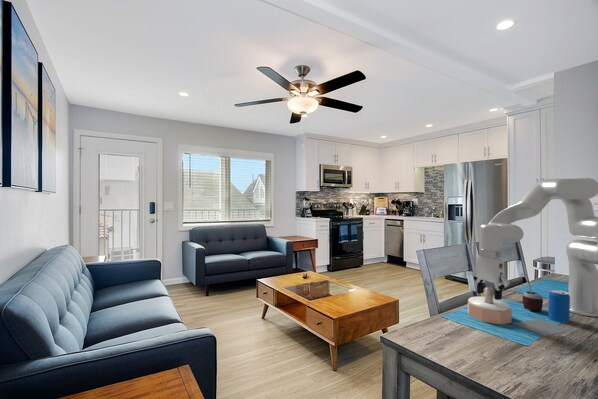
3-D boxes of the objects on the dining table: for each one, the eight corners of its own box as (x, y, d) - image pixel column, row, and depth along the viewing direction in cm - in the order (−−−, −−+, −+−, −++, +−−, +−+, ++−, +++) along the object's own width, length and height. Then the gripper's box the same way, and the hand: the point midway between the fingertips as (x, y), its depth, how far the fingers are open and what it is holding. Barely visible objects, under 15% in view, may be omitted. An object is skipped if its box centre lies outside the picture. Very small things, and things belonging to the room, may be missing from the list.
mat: (538, 319, 122) (538, 318, 122) (570, 331, 112) (570, 329, 112) (513, 324, 117) (513, 323, 117) (544, 337, 107) (544, 336, 107)
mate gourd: (540, 315, 126) (541, 280, 126) (518, 310, 132) (518, 276, 132) (544, 311, 131) (545, 277, 131) (522, 306, 137) (523, 273, 137)
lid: (485, 296, 133) (485, 281, 133) (518, 308, 120) (518, 291, 120) (461, 300, 128) (461, 284, 128) (492, 313, 115) (493, 295, 115)
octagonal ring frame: (484, 308, 134) (485, 296, 134) (518, 322, 120) (519, 308, 120) (460, 312, 129) (460, 300, 129) (492, 327, 115) (492, 313, 115)
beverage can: (573, 325, 117) (574, 295, 117) (554, 323, 119) (555, 293, 118) (562, 318, 124) (563, 289, 124) (544, 317, 125) (545, 288, 125)
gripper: (517, 257, 117) (516, 302, 117) (477, 249, 133) (476, 289, 134) (504, 258, 114) (503, 304, 115) (464, 250, 131) (464, 290, 131)
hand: (488, 296), depth 124 cm, fingers open, 7 cm apart
